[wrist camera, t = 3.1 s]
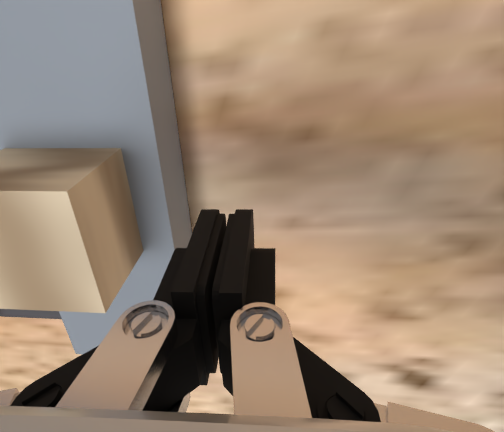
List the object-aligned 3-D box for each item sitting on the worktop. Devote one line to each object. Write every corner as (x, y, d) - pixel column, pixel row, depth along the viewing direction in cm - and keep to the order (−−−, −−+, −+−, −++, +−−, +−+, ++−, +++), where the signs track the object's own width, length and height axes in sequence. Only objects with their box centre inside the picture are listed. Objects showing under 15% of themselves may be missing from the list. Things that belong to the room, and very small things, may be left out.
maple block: (120, 148, 14) (66, 191, 11) (143, 251, 17) (105, 313, 13) (4, 148, 15) (-84, 189, 11) (43, 248, 17) (-19, 307, 14)
